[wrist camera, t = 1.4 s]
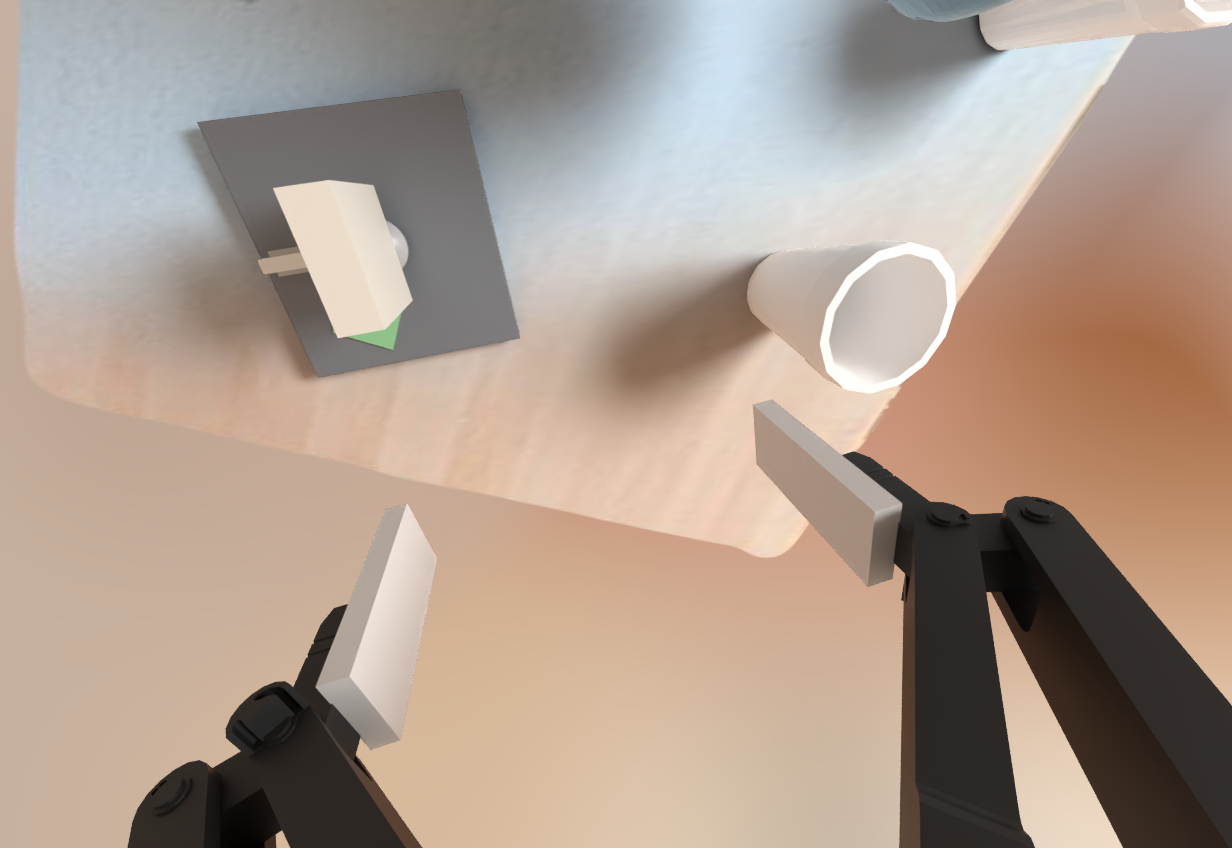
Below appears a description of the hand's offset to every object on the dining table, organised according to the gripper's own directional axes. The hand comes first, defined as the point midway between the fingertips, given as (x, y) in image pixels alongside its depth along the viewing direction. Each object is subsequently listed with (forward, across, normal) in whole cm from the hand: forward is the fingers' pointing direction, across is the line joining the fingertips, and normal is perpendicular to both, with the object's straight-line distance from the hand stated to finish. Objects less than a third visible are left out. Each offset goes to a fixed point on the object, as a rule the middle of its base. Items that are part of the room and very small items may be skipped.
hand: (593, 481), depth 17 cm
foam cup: (+24, +20, -2) cm, 31 cm away
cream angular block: (+21, -12, +9) cm, 26 cm away
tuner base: (+23, -9, +8) cm, 26 cm away
